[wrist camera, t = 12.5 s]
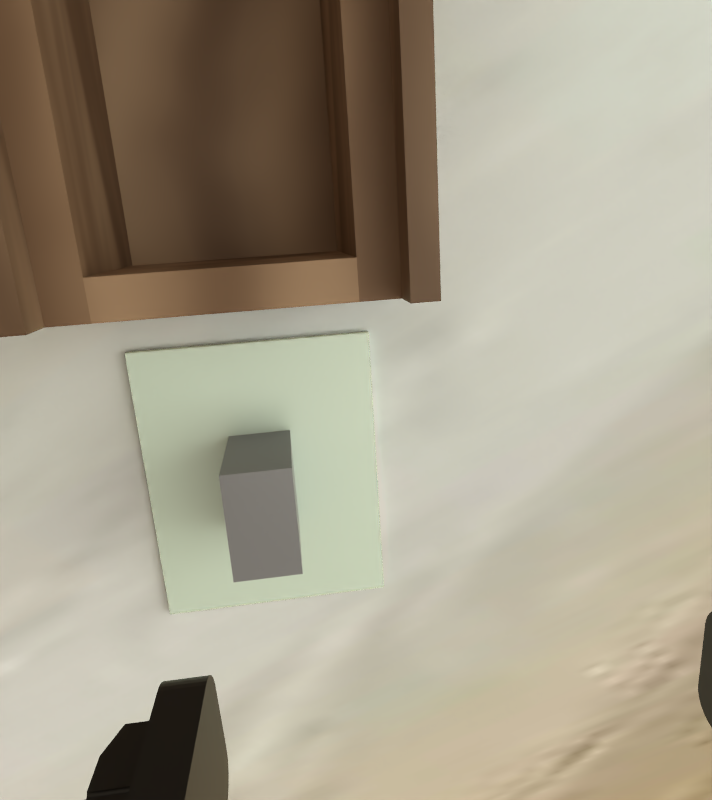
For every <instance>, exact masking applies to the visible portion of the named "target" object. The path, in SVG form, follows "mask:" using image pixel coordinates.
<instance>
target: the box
mask: <svg viewBox="0 0 712 800" xmlns="http://www.w3.org/2000/svg"><path fill="white" fill-rule="evenodd" d="M400 298H402V299H404V300H406V301H408V302H410V303H420V302H433V301H441V286H440V249H439V211H438V173H437V136H436V98H435V60H434V23H433V0H0V337H7V336H19V335H27V334H30V333H32V332H34V331H37V330H39V329H42V328H44V327H55V326H68V325H80V324H92V323H104V322H117V321H129V320H141V319H154V318H166V317H178V316H191V315H203V314H215V313H227V312H240V311H252V310H264V309H277V308H289V307H301V306H314V305H326V304H338V303H350V302H363V301H375V300H387V299H400Z"/></svg>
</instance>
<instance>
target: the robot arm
mask: <svg viewBox="0 0 712 800" xmlns="http://www.w3.org/2000/svg"><path fill="white" fill-rule="evenodd" d="M698 692H699V699H700V703H701V706H702V709H703V712H704V714H705V716H706V718H707V720H708V722H709V724H710V725H711V727H712V612H711V613H709V615H708V616H707V619H706V623H705V631H704V640H703V649H702V658H701V666H700V675H699V684H698ZM86 800H228V758H227V750H226V744H225V738H224V733H223V727H222V721H221V716H220V710H219V704H218V699H217V693H216V687H215V683H214V679H213V677H212V676H211V675H209V676H201V677H194V678H186V679H178V680H171V681H164V682H162V683H161V684H160V686H159V689H158V692H157V695H156V699H155V702H154V706H153V709H152V713H151V716H150V720H149V721H145V722H138V723H130V724H125V725H124V726H123V728H122V729H121V730H120V731H119V733H118V734H117V735H116V736H115V738H114V739H113V740H112V741H111V743H110V744H109V745H108V747H107V748H106V749H105V750H104V752H103V753H102V754H101V755H100V757H99V760H98V763H97V766H96V768H95V771H94V774H93V777H92V779H91V782H90V785H89V788H88V791H87V799H86Z"/></svg>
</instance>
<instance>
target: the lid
mask: <svg viewBox="0 0 712 800" xmlns="http://www.w3.org/2000/svg"><path fill="white" fill-rule="evenodd" d="M125 359H126V365H127V371H128V376H129V382H130V388H131V393H132V399H133V405H134V410H135V416H136V422H137V428H138V433H139V439H140V445H141V450H142V456H143V462H144V467H145V473H146V479H147V485H148V490H149V496H150V502H151V507H152V513H153V519H154V525H155V530H156V536H157V542H158V547H159V553H160V559H161V564H162V570H163V576H164V582H165V587H166V593H167V599H168V604H169V610H170V614H178V613H186V612H194V611H201V610H209V609H217V608H225V607H232V606H240V605H248V604H256V603H264V602H271V601H279V600H287V599H295V598H302V597H310V596H318V595H326V594H334V593H341V592H349V591H357V590H365V589H373V588H380V587H384V580H383V564H382V547H381V531H380V514H379V498H378V481H377V465H376V448H375V432H374V415H373V399H372V382H371V366H370V349H369V333H368V332H367V331H364V332H352V333H341V334H329V335H318V336H306V337H294V338H283V339H271V340H260V341H248V342H236V343H225V344H213V345H202V346H190V347H178V348H167V349H155V350H144V351H132V352H126V353H125Z"/></svg>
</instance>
